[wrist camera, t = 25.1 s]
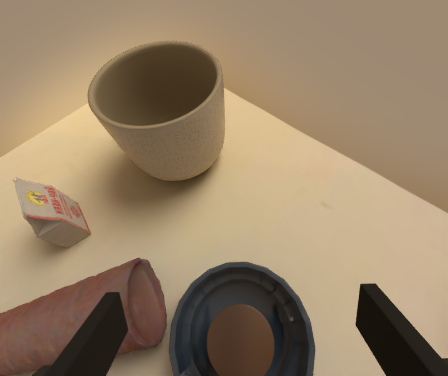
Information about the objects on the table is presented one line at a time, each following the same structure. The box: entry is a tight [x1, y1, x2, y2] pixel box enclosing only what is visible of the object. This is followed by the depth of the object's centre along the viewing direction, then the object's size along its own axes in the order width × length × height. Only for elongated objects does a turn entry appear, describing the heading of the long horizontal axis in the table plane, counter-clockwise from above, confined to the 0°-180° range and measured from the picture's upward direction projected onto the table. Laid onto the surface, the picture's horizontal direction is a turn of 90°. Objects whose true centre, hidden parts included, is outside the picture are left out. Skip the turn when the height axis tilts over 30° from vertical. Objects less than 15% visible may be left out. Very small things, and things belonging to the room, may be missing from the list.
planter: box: [88, 41, 225, 181], centre depth 35 cm, size 17×17×15 cm
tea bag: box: [13, 178, 91, 248], centre depth 32 cm, size 4×7×10 cm, turn 36°
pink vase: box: [0, 258, 167, 376], centre depth 25 cm, size 21×10×9 cm, turn 109°
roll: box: [207, 304, 274, 376], centre depth 23 cm, size 6×6×10 cm
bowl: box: [169, 262, 315, 376], centre depth 25 cm, size 14×14×6 cm
